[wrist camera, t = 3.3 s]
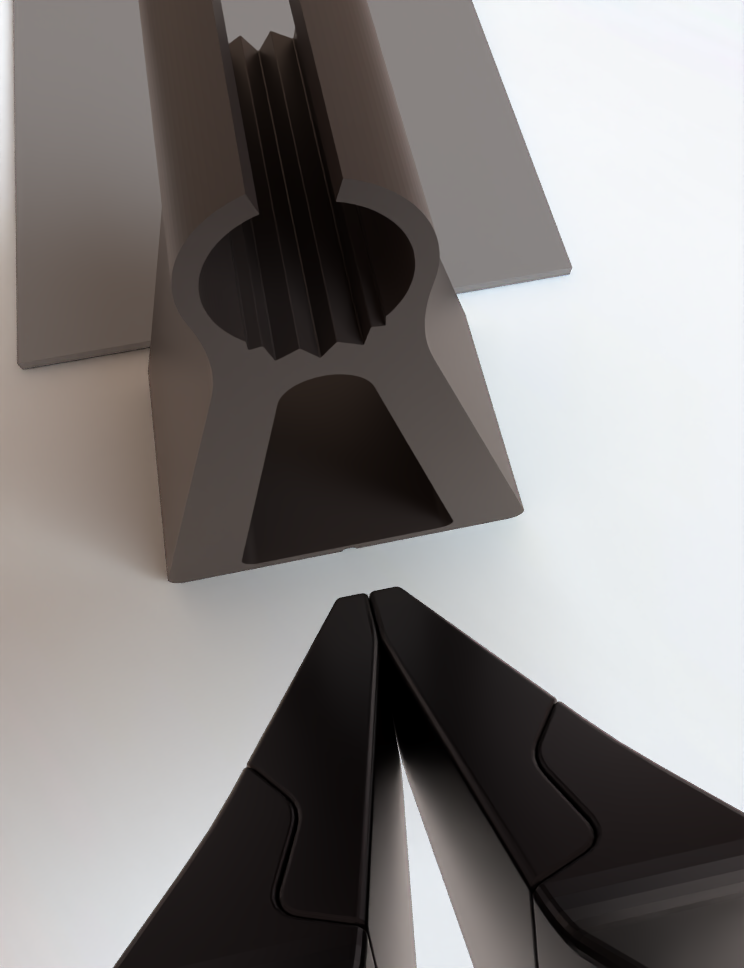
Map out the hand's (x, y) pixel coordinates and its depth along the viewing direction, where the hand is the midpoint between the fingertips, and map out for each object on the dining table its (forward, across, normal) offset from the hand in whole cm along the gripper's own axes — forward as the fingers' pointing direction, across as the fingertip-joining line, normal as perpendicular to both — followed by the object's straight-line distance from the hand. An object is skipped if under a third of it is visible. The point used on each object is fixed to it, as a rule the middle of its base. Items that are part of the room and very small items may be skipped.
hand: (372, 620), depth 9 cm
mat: (+19, 0, -8) cm, 21 cm away
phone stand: (+10, 0, +1) cm, 10 cm away
